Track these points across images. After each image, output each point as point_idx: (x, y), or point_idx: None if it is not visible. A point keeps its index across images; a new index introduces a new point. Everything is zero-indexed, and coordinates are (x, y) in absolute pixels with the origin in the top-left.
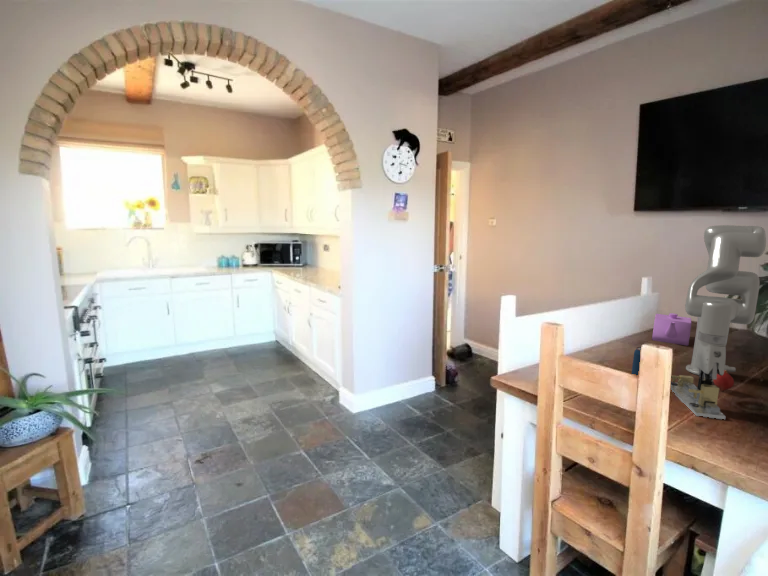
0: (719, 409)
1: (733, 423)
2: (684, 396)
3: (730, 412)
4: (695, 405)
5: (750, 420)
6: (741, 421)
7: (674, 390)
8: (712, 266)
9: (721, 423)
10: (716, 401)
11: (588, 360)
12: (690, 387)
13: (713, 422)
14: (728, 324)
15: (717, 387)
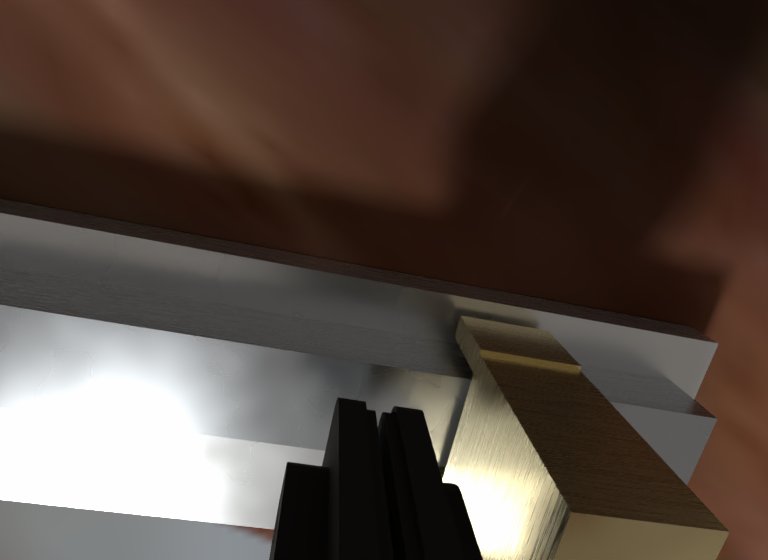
0: (704, 413)
1: (762, 291)
2: (223, 482)
3: (526, 133)
4: None
5: (728, 37)
6: (736, 172)
7: (40, 502)
8: None
9: (747, 402)
10: (581, 380)
11: None
12: (26, 405)
13: (722, 457)
14: None
15: (681, 539)
